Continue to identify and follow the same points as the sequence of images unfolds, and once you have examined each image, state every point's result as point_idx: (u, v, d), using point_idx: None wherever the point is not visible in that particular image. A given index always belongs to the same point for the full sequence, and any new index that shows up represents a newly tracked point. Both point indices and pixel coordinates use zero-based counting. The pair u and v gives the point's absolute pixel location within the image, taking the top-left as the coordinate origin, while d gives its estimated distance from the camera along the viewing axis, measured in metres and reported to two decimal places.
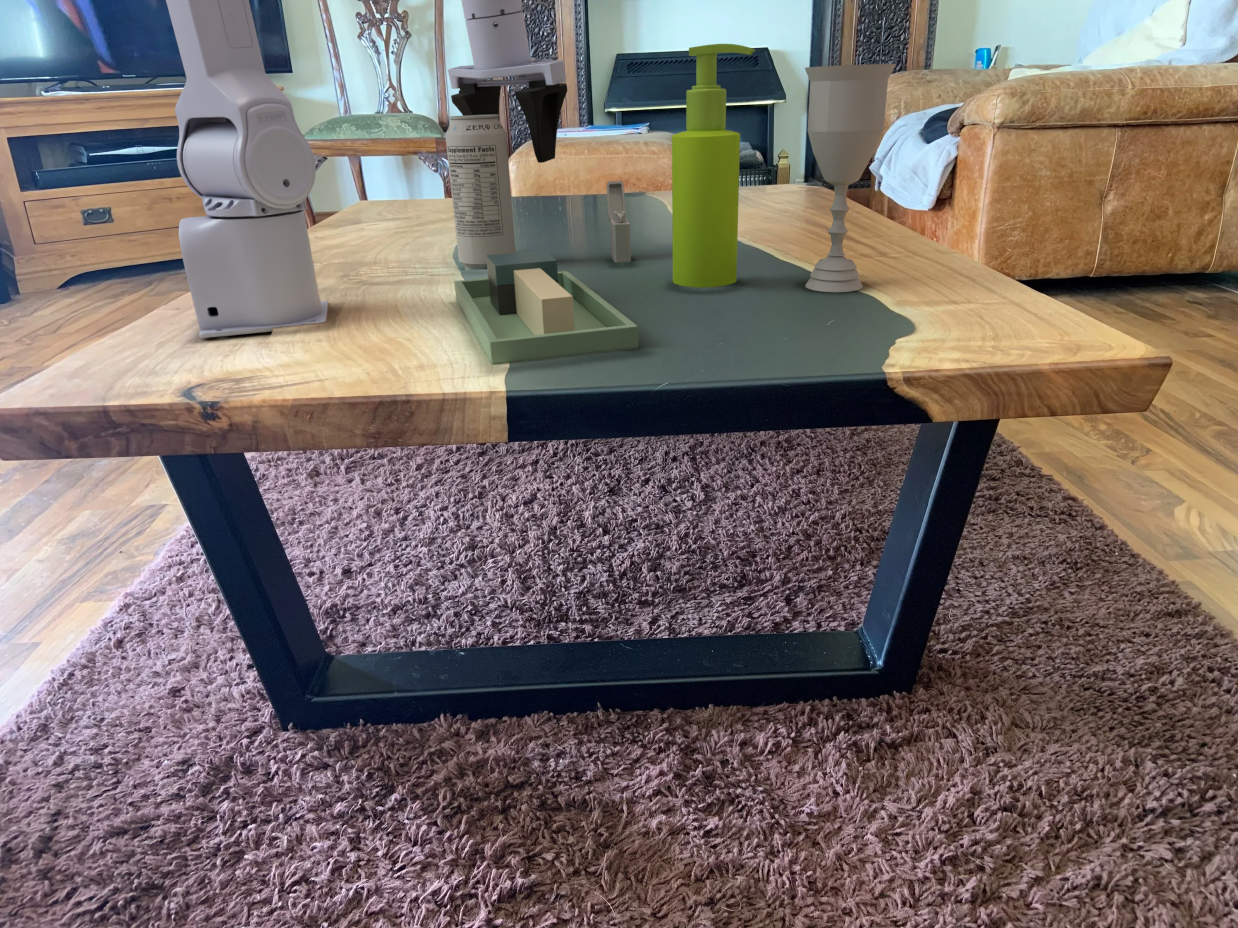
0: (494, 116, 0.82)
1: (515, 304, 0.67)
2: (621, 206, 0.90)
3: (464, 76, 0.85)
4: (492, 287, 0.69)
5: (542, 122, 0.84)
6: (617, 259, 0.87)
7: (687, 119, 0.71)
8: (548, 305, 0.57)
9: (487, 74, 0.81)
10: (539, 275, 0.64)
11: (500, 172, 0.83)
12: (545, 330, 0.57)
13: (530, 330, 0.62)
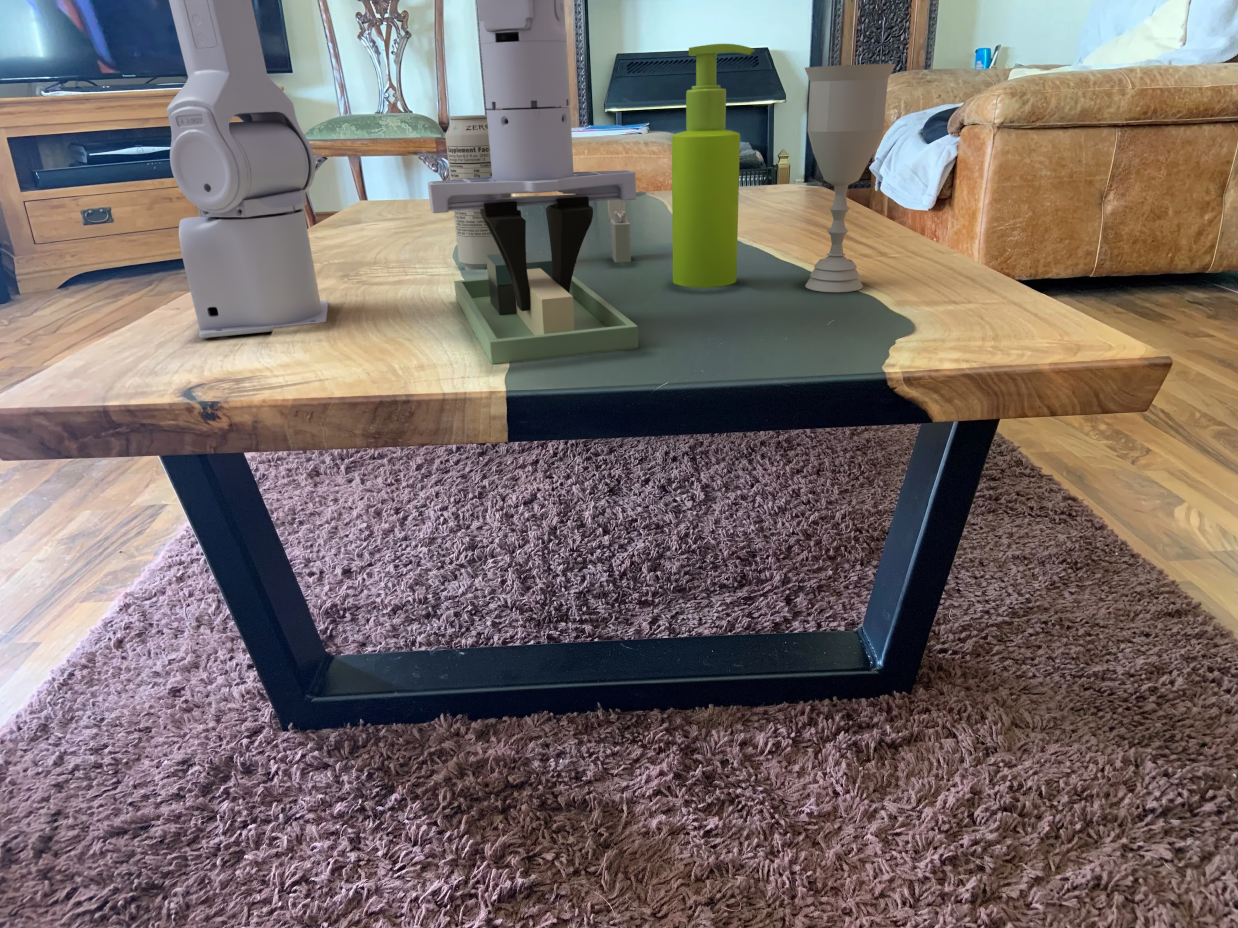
0: None
1: (515, 304, 0.67)
2: (621, 206, 0.90)
3: None
4: (492, 287, 0.69)
5: None
6: (617, 259, 0.87)
7: (687, 119, 0.71)
8: (548, 305, 0.57)
9: None
10: (539, 275, 0.64)
11: None
12: (545, 330, 0.57)
13: (530, 330, 0.62)
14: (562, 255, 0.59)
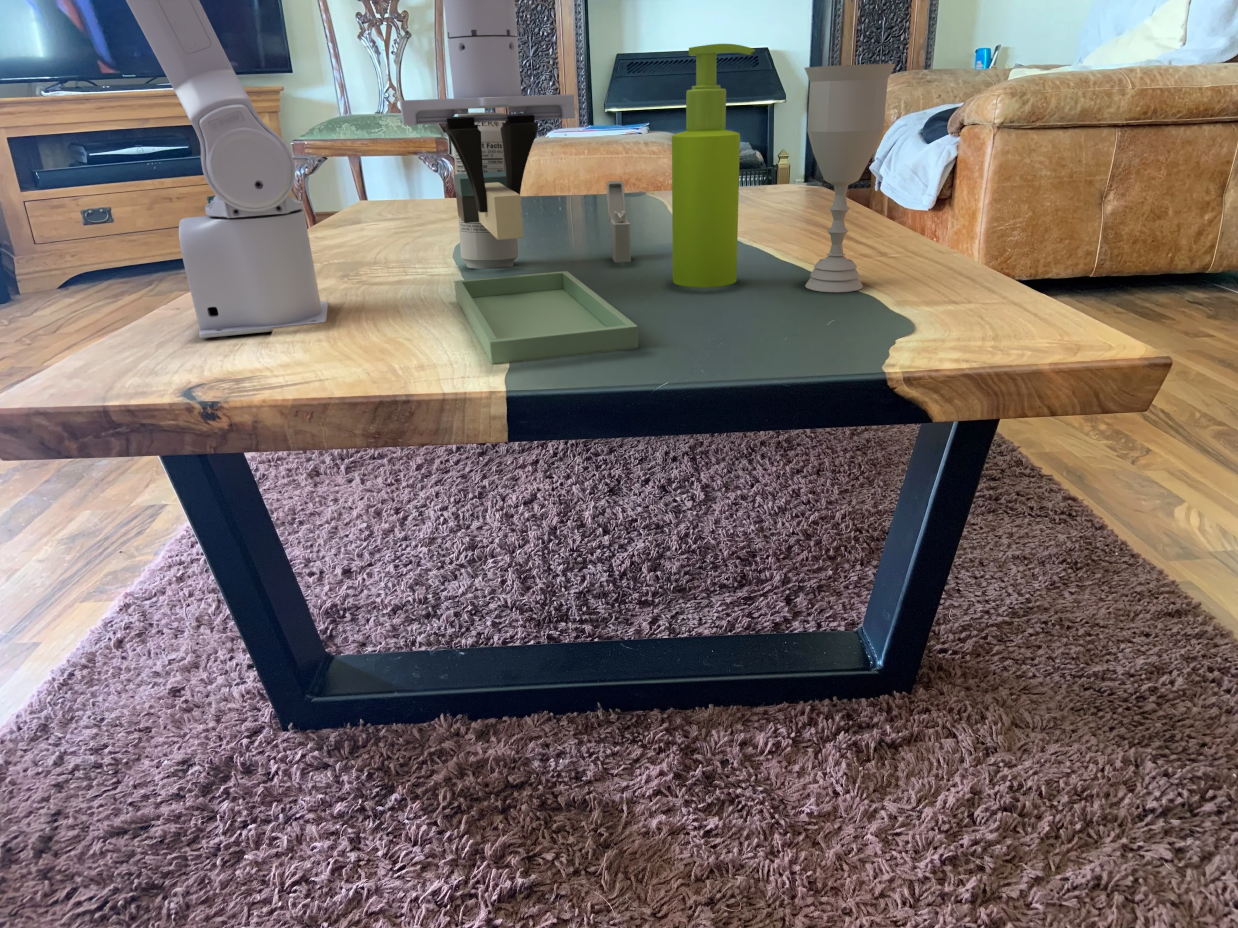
0: (502, 114, 0.82)
1: (477, 213, 0.79)
2: (621, 206, 0.90)
3: None
4: (458, 200, 0.80)
5: None
6: (617, 259, 0.87)
7: (687, 119, 0.71)
8: (500, 202, 0.68)
9: None
10: (496, 185, 0.76)
11: None
12: (498, 223, 0.69)
13: (488, 230, 0.74)
14: (512, 164, 0.71)
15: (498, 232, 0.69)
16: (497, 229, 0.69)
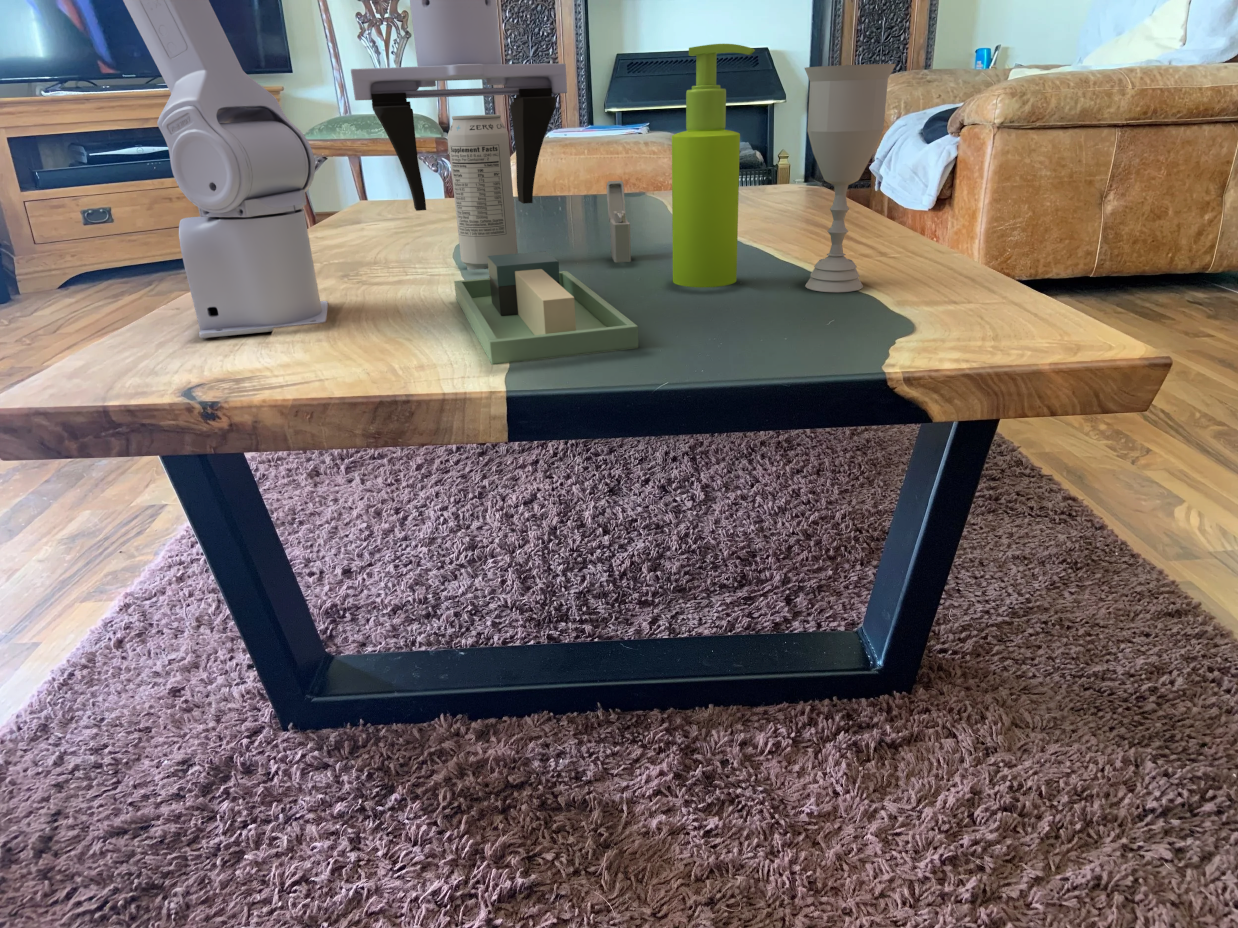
0: (497, 116, 0.82)
1: (516, 305, 0.67)
2: (621, 206, 0.90)
3: None
4: (493, 288, 0.68)
5: None
6: (617, 259, 0.87)
7: (687, 119, 0.71)
8: (549, 306, 0.56)
9: None
10: (541, 276, 0.63)
11: (503, 171, 0.83)
12: (547, 331, 0.57)
13: None
14: (525, 147, 0.59)
15: None
16: None
